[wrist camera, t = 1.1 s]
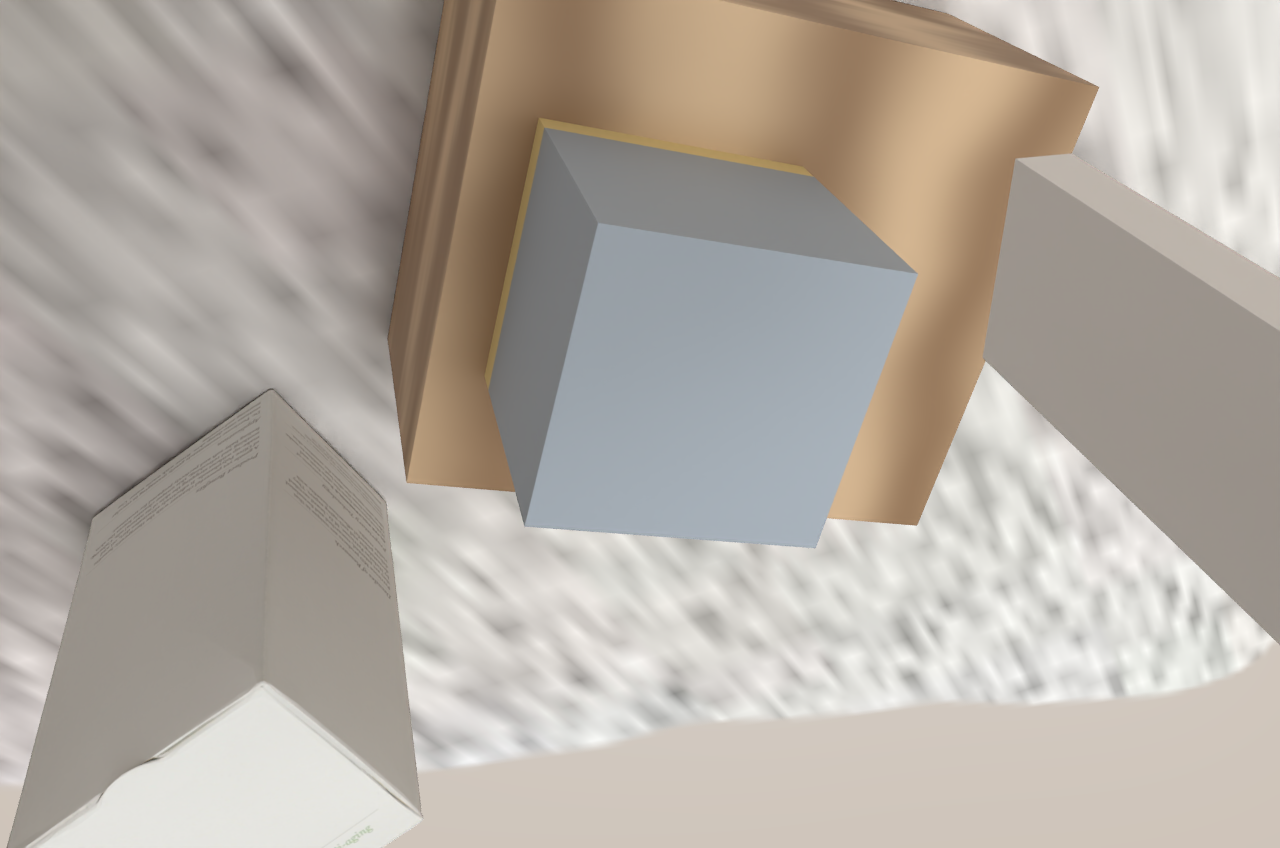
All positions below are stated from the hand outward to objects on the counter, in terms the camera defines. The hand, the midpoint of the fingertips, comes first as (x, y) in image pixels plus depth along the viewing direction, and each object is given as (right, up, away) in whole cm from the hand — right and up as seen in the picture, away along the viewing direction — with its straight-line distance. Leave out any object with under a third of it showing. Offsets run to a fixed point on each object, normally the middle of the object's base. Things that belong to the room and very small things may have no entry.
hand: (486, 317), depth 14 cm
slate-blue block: (+2, +3, +18) cm, 18 cm away
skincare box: (-12, -4, +29) cm, 32 cm away
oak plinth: (+3, +7, +26) cm, 27 cm away
